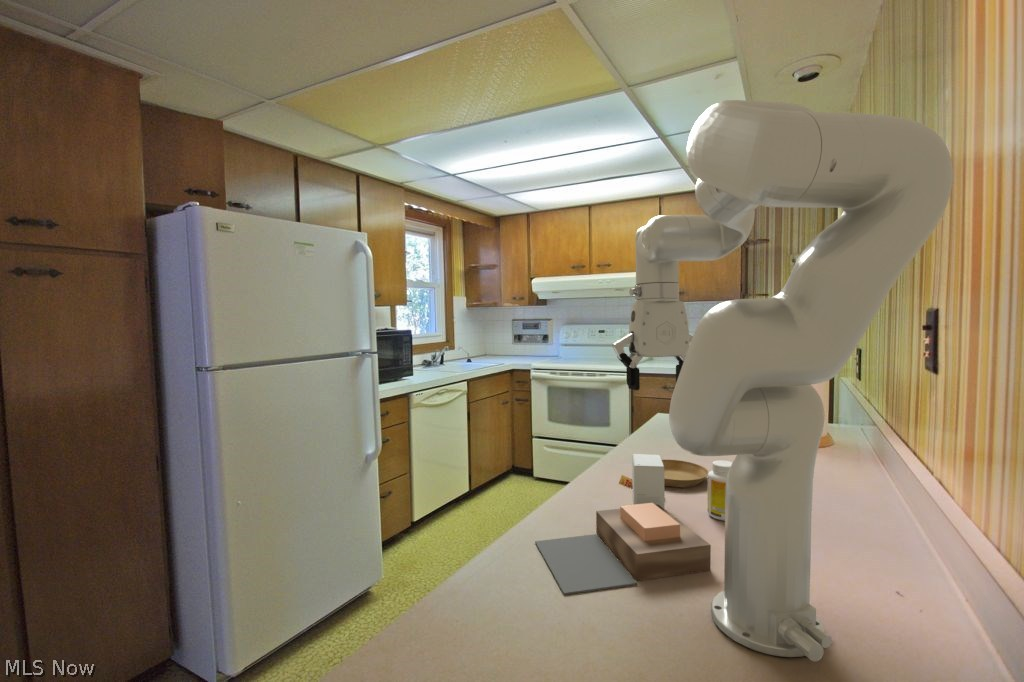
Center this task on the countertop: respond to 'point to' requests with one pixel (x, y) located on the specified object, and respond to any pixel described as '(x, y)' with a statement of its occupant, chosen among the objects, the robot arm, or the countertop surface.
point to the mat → (583, 564)
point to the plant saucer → (683, 473)
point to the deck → (653, 548)
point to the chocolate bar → (626, 482)
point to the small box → (648, 479)
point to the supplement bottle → (717, 489)
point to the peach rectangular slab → (650, 521)
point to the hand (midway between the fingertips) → (658, 388)
